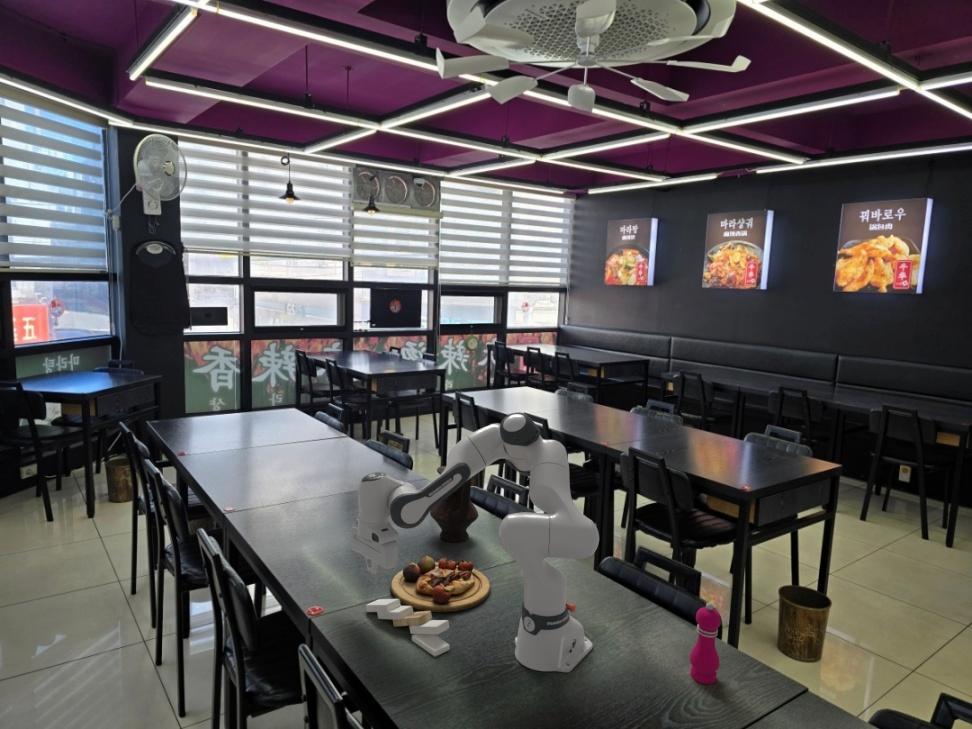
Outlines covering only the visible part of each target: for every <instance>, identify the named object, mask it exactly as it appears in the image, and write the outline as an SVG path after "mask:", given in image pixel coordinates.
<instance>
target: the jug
mask: <svg viewBox="0 0 972 729" xmlns="http://www.w3.org/2000/svg"><path fill="white" fill-rule="evenodd" d="M446 466H447V465H442V466H439V467H437V468H436V472H437V473H438V475H441V474H442V472H443V471H444V470H445V468H446ZM477 475H478V473H477V474H475V475H474V476H477ZM474 476H473V477H474ZM473 477H471V478H470V479H469V480H468V481H466V482H465V483H464V484H463V485H462V486H461V487H460V488H458V489H457V490H456V491H455V492H453V493H452V494H451V495H449V496H448V497H447V498H445V499H444V500H443V501H442V502H440V503H439V504H438V505H436V506H435V507H434V508H433V509H432V510H431V511H430V512H429V513H430V514H429V515H430V517H432V519H433V520H434V522H436V524H437V525H438V527H439V528H440V529H441V531H440V533H439V537H440V538H441V539H442V540H444V541H448V542H452V543H458V542H459V543H460V542H461V543H462V542H465V541H467V540H468V539H469V536H470V535H469V533H468V532H467V530H468V528H469V527H470V526H471V525H472V524H473V523H474V522H475V521H476V520H477V519H478V518H479V512H478V509H477V508H476V506H475V505H474V503H473V502H472V501H471V490H472V478H473Z"/></svg>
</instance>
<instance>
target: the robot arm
mask: <svg viewBox="0 0 972 729" xmlns="http://www.w3.org/2000/svg"><path fill="white" fill-rule="evenodd" d="M500 459H503V460H504V459H505V460H506V465H507V466H509V468H512V469H513V470H515V471H516V472H518V473H519V474H520V475H522V476H524V477H529V490H528V491H529V492H528V494H529V498H530V501H531V502H532V503H533V505H534V506H535V507H536V508H537V509H539V510H541V511H542V512H544V513H542V512H530V511H529V512H527V511H524V512H515V513H509V514H507V515H506V516H505V517H504V518H503V519H502V521H501V523H500V525H499V528H498V538H499V542H500V544H501V546H502V548H503V550H504V551H506V552H507V553H508V554H509V555H510V556H511V557H513V559H514V560H515V561H516V563H517V564H518V566H519V567H520V570H521V572H522V577H523V589H524V590H523V591H524V592H523V593H524V594H523V601H522V603H521V604H522V605H521V610H520V612H521V615H520V620H519V624H518V630H517V631H518V632H517V636H515V638H514V645H515V649H514V655H515V658H516V660H517V661H518V662H519V663H520V665H522V666H524V667H526V668H529V669H530V670H533V671H539V672H559V673H560V672H561V673H570V672H572V671H573V669H574V668H575V667H576V666H577V665H578V664H579V663H580V662H581V661H582V660H583V659H584V658H585V657H586V656H587V655H588V654H589V653H590V652H591V651H592V649H593V648H594V647H593V642H592V641H591V640H590V639H589V638H588V637H587V636H585V629H584V626H583V625H582V623H580V621H579V620H577V619H576V618H574V617H572V616H571V615H570V614H569V611H570V612H571V613H575V611H577V610H576V609H577V605H576V604H572V603H571V602H568V603H567V590H568V582H567V578H566V576H565V575H564V573H563V572H562V571H561V570H560V569H559V568H557V567H555V566H554V565H552V564H550V562H548V561H547V560H546V559H545V558H554V559H565V560H577V559H584V558H591V557H592V556H593V555H594V553H595V552H596V550H597V549H598V546H599V542H600V534H599V530H598V528H597V526H596V523H595V522H594V521H593V520H592V519H590V518H588V517H587V515H585V514H584V513H582V512H581V511H580V510H579V509H578V507H577V506H576V504H575V503H574V501H573V499H572V495H571V494H572V493H571V487H570V485H571V483H570V465H569V464H570V463H569V458H568V453H567V449H566V447H565V446H564V445H563V444H562V443H561V442H560V441H558V440H555V439H544V438H543V437H542V436H541V430H540V428H539V427H538V426H537V425H536V423H535V421H534V420H533V419H532V418H531V417H530V416H529V415H527V413H525V412H520V411H519V412H512V413H509V414H508V415H506V416H505V417H504V418H503V419H502V420H501V422H500V424H497V423H492V424H489V425H487V426H483V427H481V428H479V429H477V430H475V431H474V432H471V433H470V434H468V435H467V436H465V437H464V438H462V439H461V440H459V441H458V442H457V443H455V445H454V446H453V447H451V448H450V450H449V452H448V456H447V462H446V465H445V466H446V468H445V470H444V471H443V472H442V474H438V476H436V478H434V479H433V480H432V481H430V482H429V483H427V484H426V485H425V486H424V487H422V488H420V489H419V490H418V489H417V487H416V486H415V485H414V484H413V483H411V482H410V481H405V480H404V481H403V480H399V479H395V478H393V477H391V476H389V475H388V474H387V473H385V472H382V471H381V472H380V471H376V472H371V473H368V474H367V475H365V476H364V477H363V478H362V479H361V480H360V483H359V487H358V500H357V501H358V503H357V504H358V509H359V513H358V515H357V519H355V520H354V521H353V522H352V527H351V530H350V534H349V546H350V549H351V550H353V551H354V552H355V553H358V554H360V555H362V556H363V557H364V561H365V564H366V571H367V572H369V573H370V574H372V575H376V574H378V570H379V566H380V567H382V568H384V569H385V570H389V569H392V568H395V567H396V566H397V564H398V560H399V544H398V542H397V540H398V539H399V531H397V529H395V528H394V526H393V525H392V524H391V522H390V521H389V516H390V518H391V521H392V522H393V524H395V525H396V526H397V527H399V528H400V529H404V530H405V529H407V530H408V529H414V528H416V527H418V526H420V525H421V524H422V523H423V522H424V520H425V519H426V518H427V516H428V514H429V513H430V512H431V510H432V509H433V508H434V507H435V506H436V505H438V504H439V503H440V502H442V501H443V500H444V499H445V498H447V497H448V496H449V495H451V494H452V493H453V492H455V491H456V490H457V489H458V488H460V487H461V486H462V485H463V484H464V483H465V482H466V481H468V480H469V479H470V478H473V477H474V475H475V474H477V475H478V473H480V472H481V471H483V470H484V469H485V468H487V467H488V466H490V465H491V464H492V463H494V462H496V461H498V460H500ZM475 476H476V475H475Z"/></svg>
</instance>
